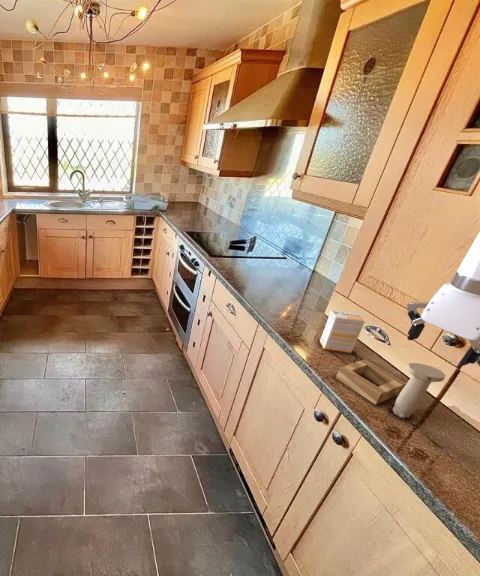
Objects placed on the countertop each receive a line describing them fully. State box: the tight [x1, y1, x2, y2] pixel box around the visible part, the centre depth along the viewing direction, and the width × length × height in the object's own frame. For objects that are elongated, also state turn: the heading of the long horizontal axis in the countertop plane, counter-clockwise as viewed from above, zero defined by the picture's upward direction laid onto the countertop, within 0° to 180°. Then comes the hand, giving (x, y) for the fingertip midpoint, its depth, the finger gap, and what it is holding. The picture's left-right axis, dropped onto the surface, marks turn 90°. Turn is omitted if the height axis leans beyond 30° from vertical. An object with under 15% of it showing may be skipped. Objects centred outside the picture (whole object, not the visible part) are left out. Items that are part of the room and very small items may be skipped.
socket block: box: [335, 359, 408, 405], centre depth 89 cm, size 11×11×4 cm
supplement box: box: [319, 310, 366, 354], centre depth 104 cm, size 8×5×13 cm, turn 72°
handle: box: [392, 362, 447, 419], centre depth 78 cm, size 5×6×15 cm
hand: (437, 350), depth 72 cm, fingers open, 9 cm apart
